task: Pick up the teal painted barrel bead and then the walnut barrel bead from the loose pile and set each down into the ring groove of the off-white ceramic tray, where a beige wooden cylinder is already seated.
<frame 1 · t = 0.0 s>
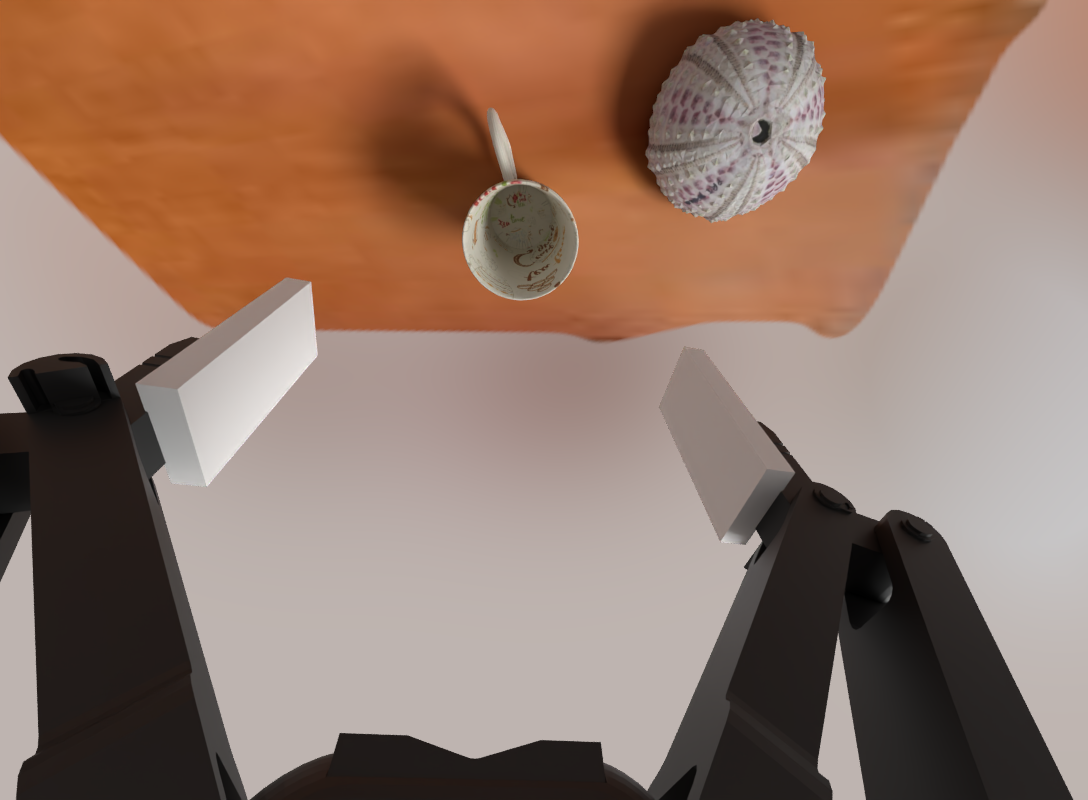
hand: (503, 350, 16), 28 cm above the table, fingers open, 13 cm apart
sea urchin shell: (717, 129, 37), on the table
mug: (514, 191, 39), on the table
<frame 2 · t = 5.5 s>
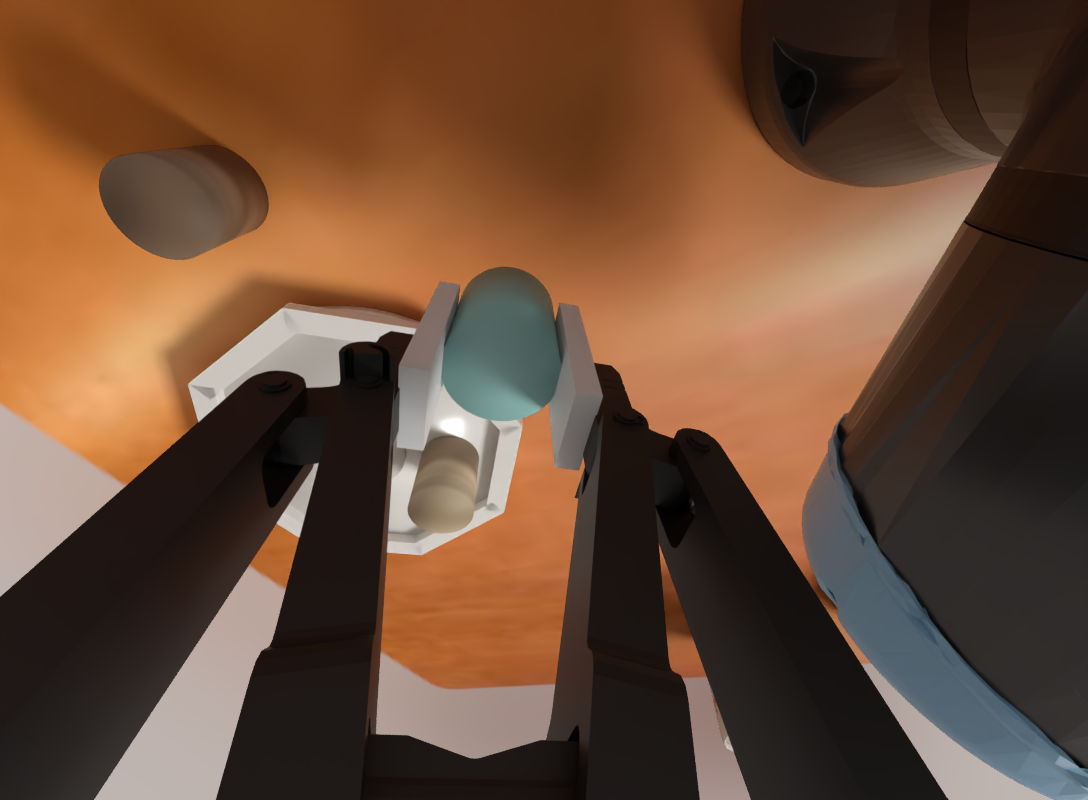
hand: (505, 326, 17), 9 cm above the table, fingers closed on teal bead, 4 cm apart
walnut bead: (225, 191, 22), on the table
beige wooden cylinder: (450, 458, 31), point 1 cm above the table, touching groove tray
groove tray: (373, 439, 31), on the table
teal bead: (506, 313, 19), point 7 cm above the table, touching gripper
when the fingers open (1 cm above the table, at t = 9.1 s): teal bead stays where it is, resting on groove tray.
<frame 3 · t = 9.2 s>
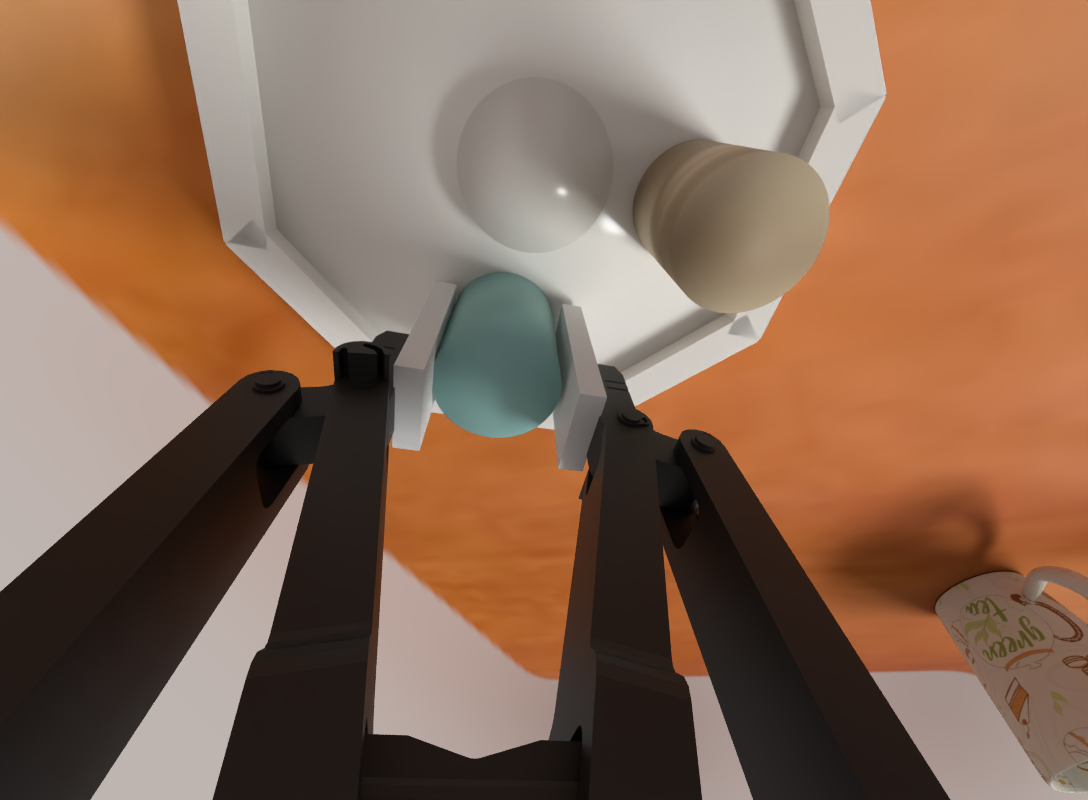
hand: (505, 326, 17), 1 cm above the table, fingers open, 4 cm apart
mug: (984, 576, 31), on the table
beige wooden cylinder: (688, 205, 15), point 1 cm above the table, touching groove tray
groove tray: (534, 167, 16), on the table
teal bead: (503, 321, 18), point 1 cm above the table, touching gripper, groove tray
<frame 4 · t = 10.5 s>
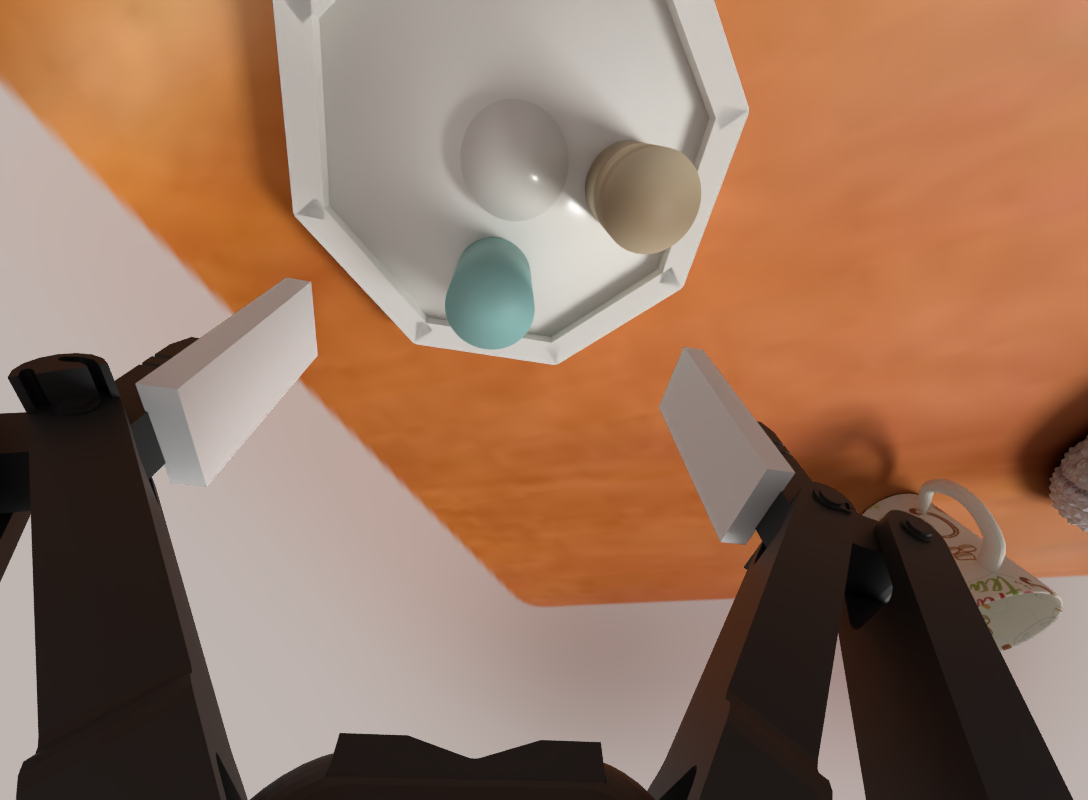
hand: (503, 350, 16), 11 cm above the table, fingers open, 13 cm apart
mug: (892, 499, 38), on the table
beige wooden cylinder: (624, 187, 22), point 1 cm above the table, touching groove tray
groove tray: (514, 160, 22), on the table
teal bead: (494, 275, 24), point 1 cm above the table, touching groove tray
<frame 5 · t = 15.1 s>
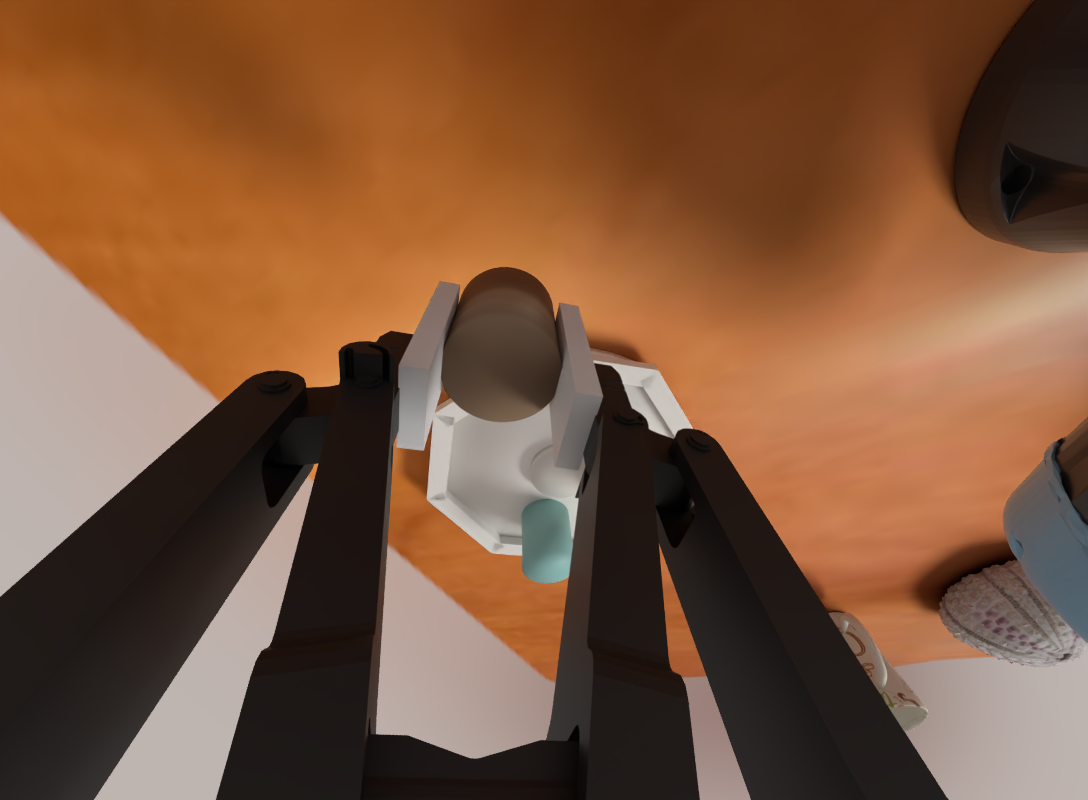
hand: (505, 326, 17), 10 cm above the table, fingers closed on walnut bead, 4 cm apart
sea urchin shell: (987, 582, 49), on the table
mug: (825, 614, 51), on the table
walnut bead: (506, 314, 19), point 9 cm above the table, touching gripper
groove tray: (561, 459, 35), on the table
teal bead: (545, 515, 37), point 1 cm above the table, touching groove tray
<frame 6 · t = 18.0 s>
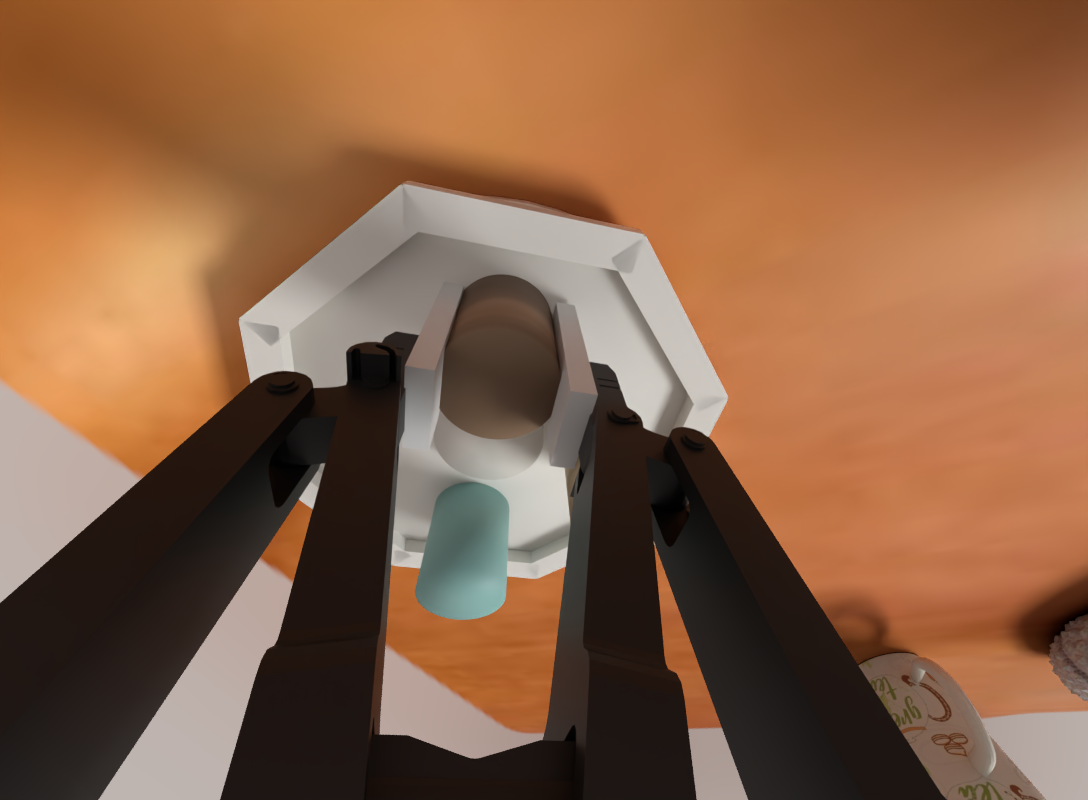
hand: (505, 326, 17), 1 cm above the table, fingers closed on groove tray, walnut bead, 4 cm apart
mug: (886, 655, 37), on the table
walnut bead: (502, 323, 18), point 1 cm above the table, touching gripper, groove tray
beige wooden cylinder: (602, 444, 21), point 1 cm above the table, touching groove tray
groove tray: (491, 416, 21), on the table
teal bead: (472, 509, 24), point 1 cm above the table, touching groove tray
when the fingers open (2 cm above the table, at t = 19.0 s): walnut bead stays where it is, resting on groove tray.
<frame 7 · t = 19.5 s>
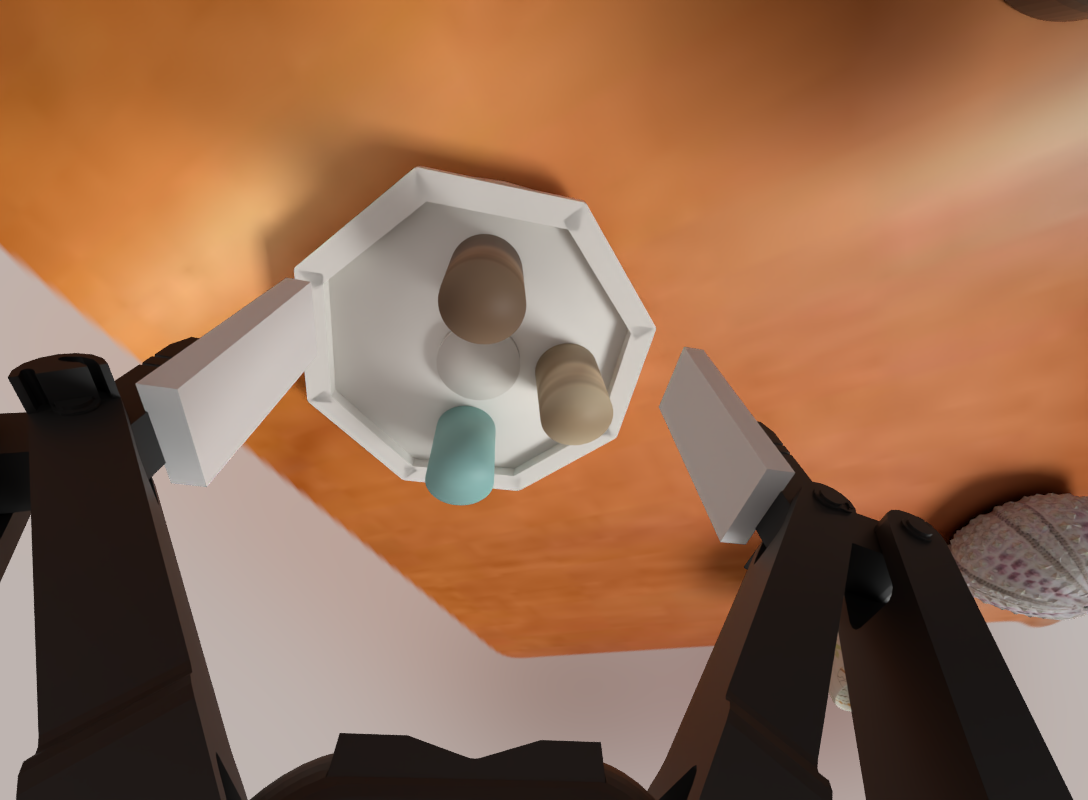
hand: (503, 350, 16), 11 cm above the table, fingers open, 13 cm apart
sea urchin shell: (999, 527, 43), on the table
mug: (814, 569, 44), on the table
walnut bead: (486, 271, 24), point 1 cm above the table, touching groove tray
beige wooden cylinder: (566, 371, 28), point 1 cm above the table, touching groove tray
groove tray: (480, 351, 28), on the table
teal bead: (466, 430, 30), point 1 cm above the table, touching groove tray
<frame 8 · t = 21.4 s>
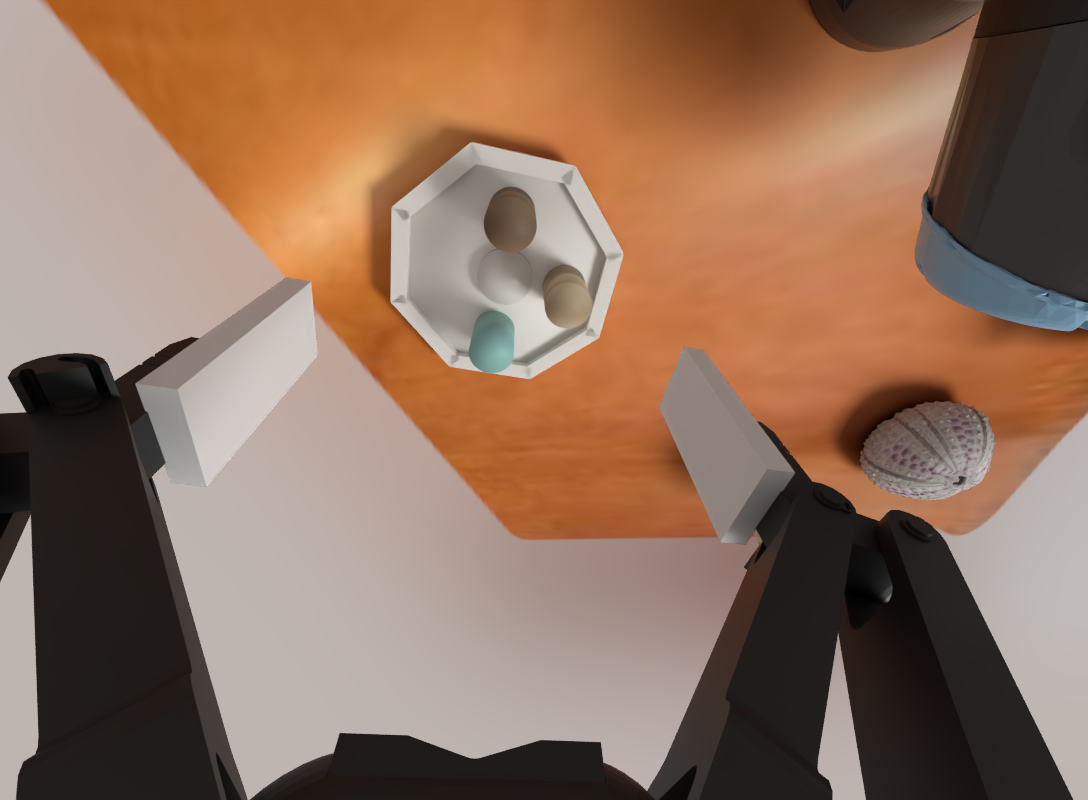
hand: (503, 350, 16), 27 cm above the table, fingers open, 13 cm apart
sea urchin shell: (905, 435, 54), on the table
walnut bead: (511, 212, 37), point 1 cm above the table, touching groove tray
beige wooden cylinder: (563, 286, 41), point 1 cm above the table, touching groove tray
groove tray: (505, 272, 41), on the table
teal bead: (494, 330, 43), point 1 cm above the table, touching groove tray
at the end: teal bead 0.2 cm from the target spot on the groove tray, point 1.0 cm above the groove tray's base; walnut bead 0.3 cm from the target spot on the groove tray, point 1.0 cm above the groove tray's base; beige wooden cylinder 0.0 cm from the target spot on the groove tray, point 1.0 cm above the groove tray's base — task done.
